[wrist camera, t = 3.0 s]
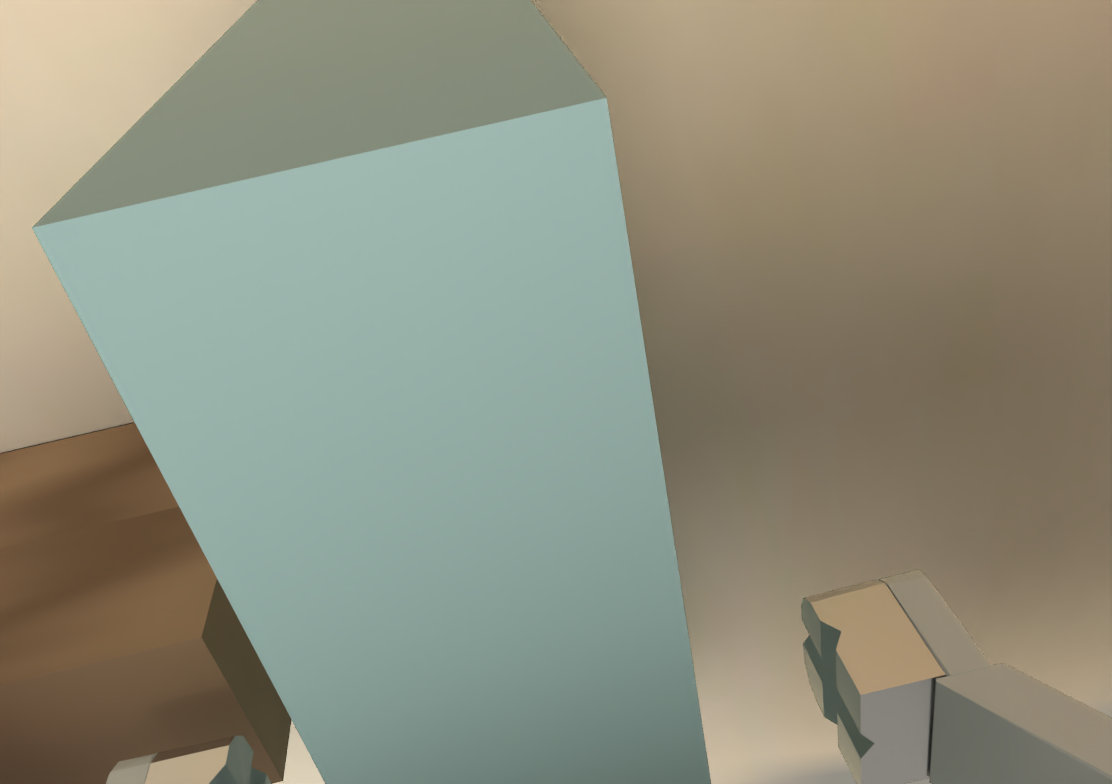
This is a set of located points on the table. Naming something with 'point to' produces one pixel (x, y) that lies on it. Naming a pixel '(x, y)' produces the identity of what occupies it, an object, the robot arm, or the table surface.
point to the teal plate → (403, 387)
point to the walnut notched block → (115, 621)
